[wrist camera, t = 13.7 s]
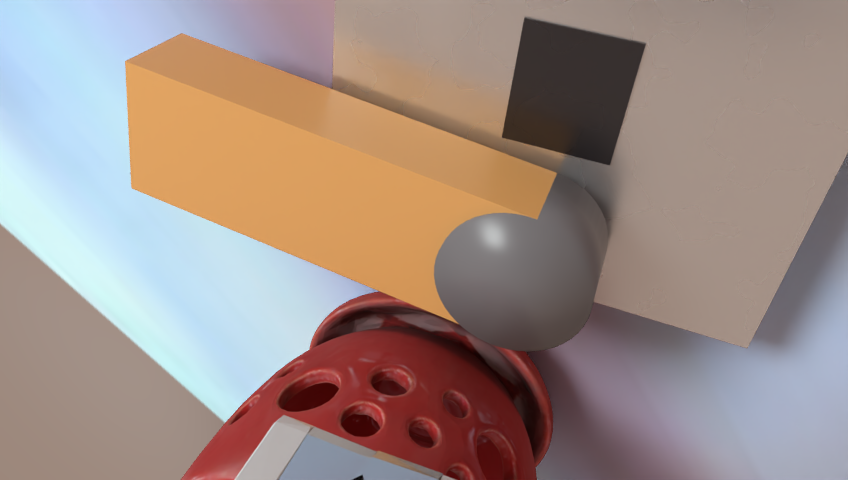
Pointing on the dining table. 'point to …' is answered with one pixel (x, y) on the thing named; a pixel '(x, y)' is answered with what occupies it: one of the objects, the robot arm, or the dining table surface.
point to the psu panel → (636, 125)
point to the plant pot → (400, 396)
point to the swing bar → (366, 193)
